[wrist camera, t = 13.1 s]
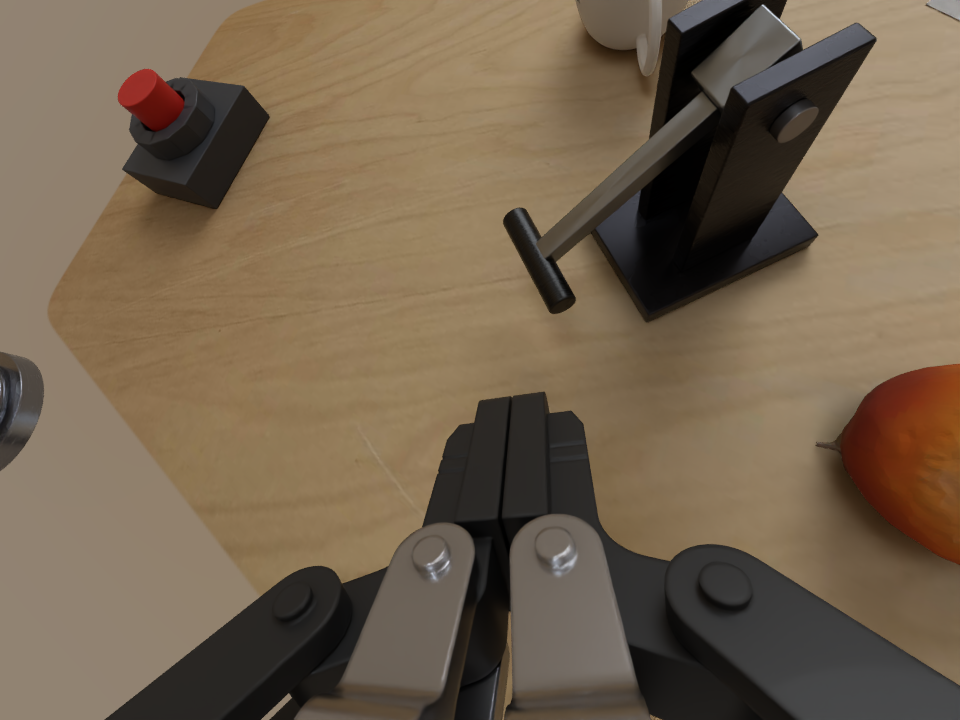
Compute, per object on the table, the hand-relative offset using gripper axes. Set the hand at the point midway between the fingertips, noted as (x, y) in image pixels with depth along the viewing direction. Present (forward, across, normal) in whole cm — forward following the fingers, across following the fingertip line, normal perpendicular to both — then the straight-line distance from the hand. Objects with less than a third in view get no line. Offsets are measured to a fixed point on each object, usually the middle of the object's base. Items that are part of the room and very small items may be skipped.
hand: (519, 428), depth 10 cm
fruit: (+10, -16, +12) cm, 23 cm away
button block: (+33, +28, -11) cm, 44 cm away
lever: (+14, -6, -3) cm, 16 cm away
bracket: (+20, -10, +2) cm, 23 cm away
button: (+29, +28, -14) cm, 43 cm away
